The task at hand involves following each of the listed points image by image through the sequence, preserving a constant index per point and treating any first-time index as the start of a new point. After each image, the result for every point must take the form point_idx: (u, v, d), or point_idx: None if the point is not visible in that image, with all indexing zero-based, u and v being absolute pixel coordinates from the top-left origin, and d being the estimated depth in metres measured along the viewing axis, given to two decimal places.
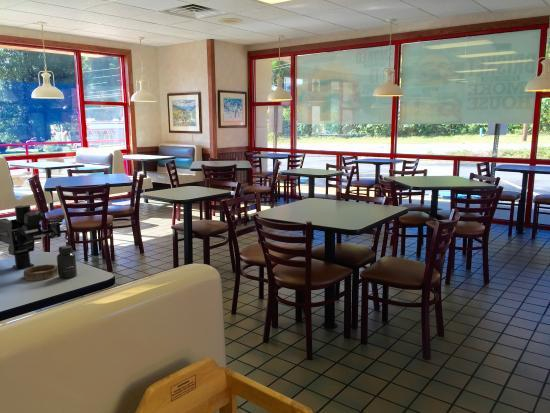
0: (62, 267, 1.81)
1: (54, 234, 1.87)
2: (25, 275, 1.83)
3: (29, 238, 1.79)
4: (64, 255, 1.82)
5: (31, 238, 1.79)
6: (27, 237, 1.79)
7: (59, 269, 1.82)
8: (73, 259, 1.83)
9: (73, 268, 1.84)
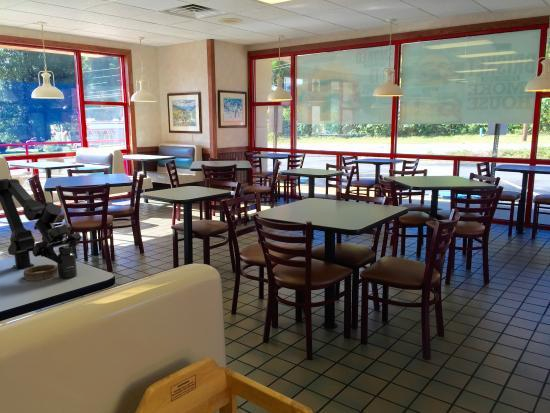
0: (62, 267, 1.81)
1: None
2: (25, 275, 1.83)
3: (56, 260, 1.80)
4: (64, 255, 1.82)
5: (58, 261, 1.80)
6: (54, 257, 1.80)
7: (59, 269, 1.82)
8: (73, 259, 1.83)
9: (73, 268, 1.84)
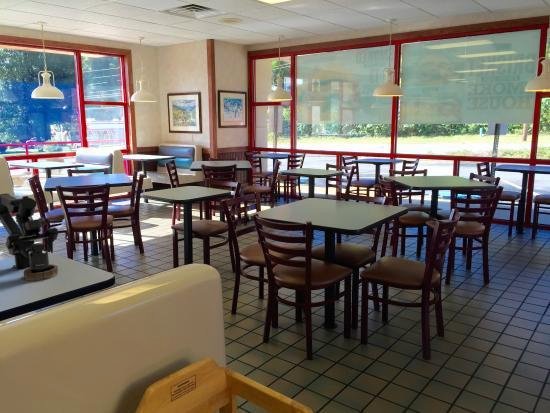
0: (33, 265, 1.83)
1: (49, 248, 1.89)
2: (25, 275, 1.83)
3: (24, 254, 1.82)
4: (35, 252, 1.83)
5: (26, 256, 1.81)
6: (23, 251, 1.82)
7: (30, 266, 1.84)
8: (44, 257, 1.84)
9: (44, 266, 1.85)
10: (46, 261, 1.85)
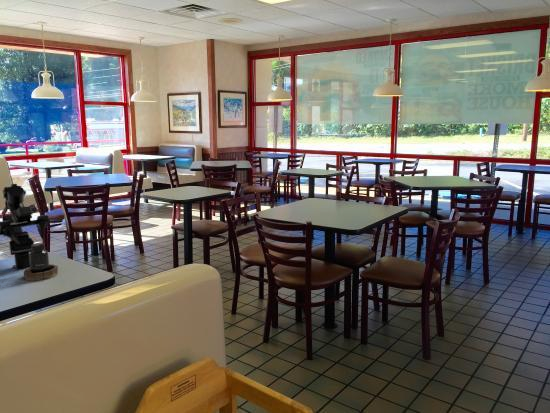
0: (33, 265, 1.83)
1: (40, 234, 1.93)
2: (25, 275, 1.83)
3: (15, 240, 1.85)
4: (35, 252, 1.83)
5: (17, 241, 1.85)
6: (14, 237, 1.85)
7: (30, 266, 1.84)
8: (44, 257, 1.84)
9: (44, 266, 1.85)
10: (46, 261, 1.85)
